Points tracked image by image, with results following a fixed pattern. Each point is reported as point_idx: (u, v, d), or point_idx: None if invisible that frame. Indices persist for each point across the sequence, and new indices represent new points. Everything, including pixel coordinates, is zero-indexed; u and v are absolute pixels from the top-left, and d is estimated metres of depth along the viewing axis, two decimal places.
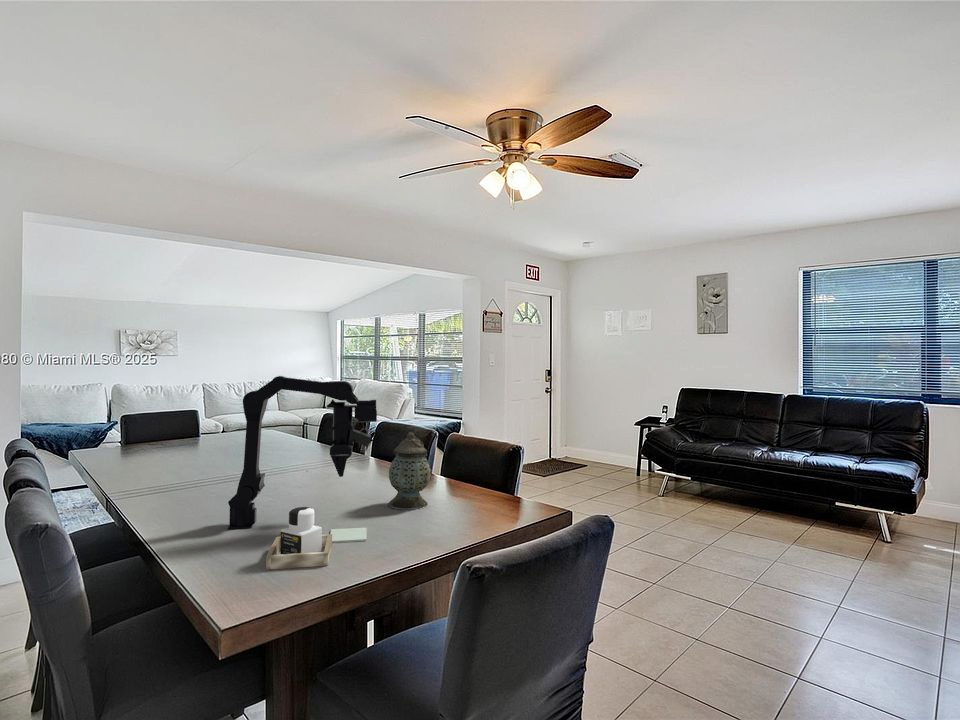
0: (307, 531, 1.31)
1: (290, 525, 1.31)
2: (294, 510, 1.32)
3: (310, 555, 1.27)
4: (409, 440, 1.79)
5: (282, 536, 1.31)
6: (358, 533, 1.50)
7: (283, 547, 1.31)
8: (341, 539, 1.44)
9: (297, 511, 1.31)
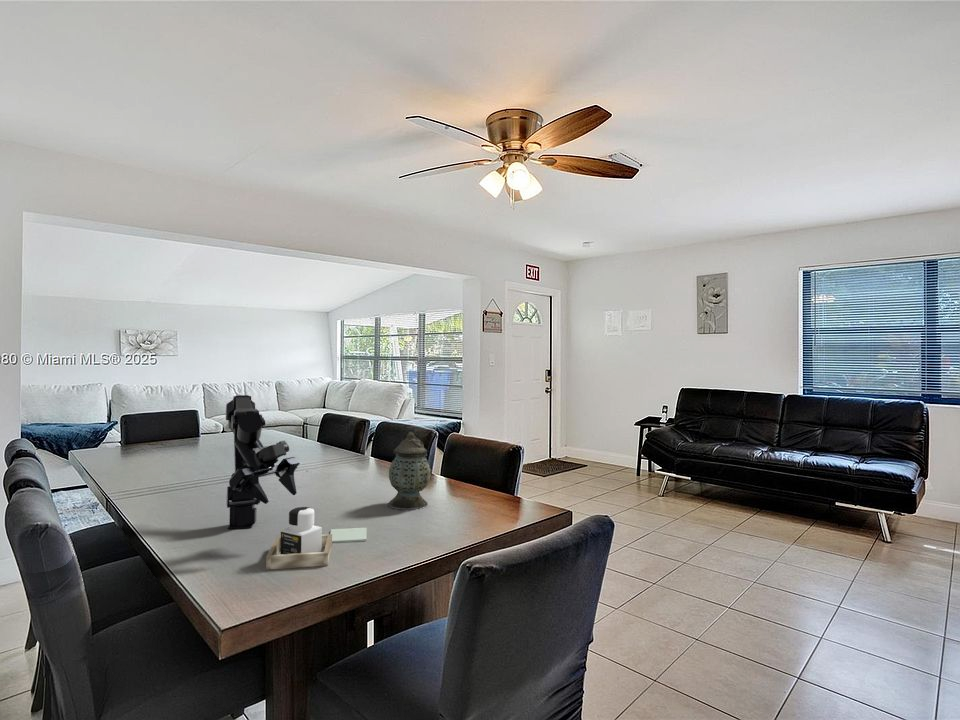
0: (307, 531, 1.31)
1: (290, 525, 1.31)
2: (294, 510, 1.32)
3: (310, 555, 1.27)
4: (409, 440, 1.79)
5: (282, 536, 1.31)
6: (358, 533, 1.50)
7: (283, 547, 1.31)
8: (341, 539, 1.44)
9: (297, 511, 1.31)
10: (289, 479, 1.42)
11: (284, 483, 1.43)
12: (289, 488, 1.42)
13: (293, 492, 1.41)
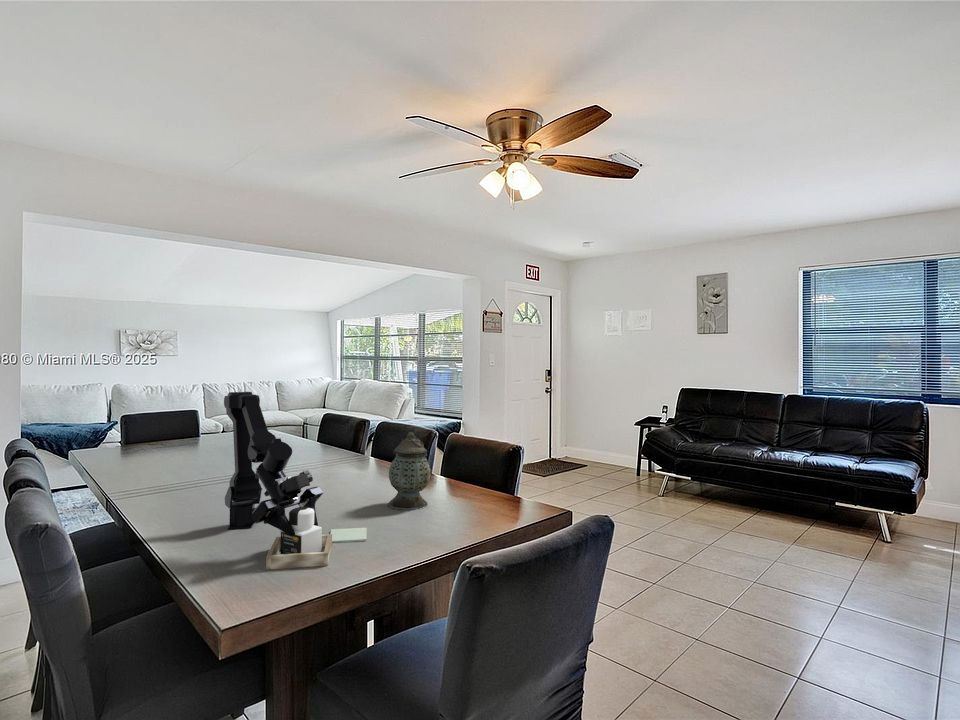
0: (307, 531, 1.31)
1: None
2: (294, 510, 1.32)
3: (310, 555, 1.27)
4: (409, 440, 1.79)
5: (282, 536, 1.31)
6: (358, 533, 1.50)
7: (283, 547, 1.31)
8: (341, 539, 1.44)
9: (297, 511, 1.31)
10: None
11: None
12: None
13: None
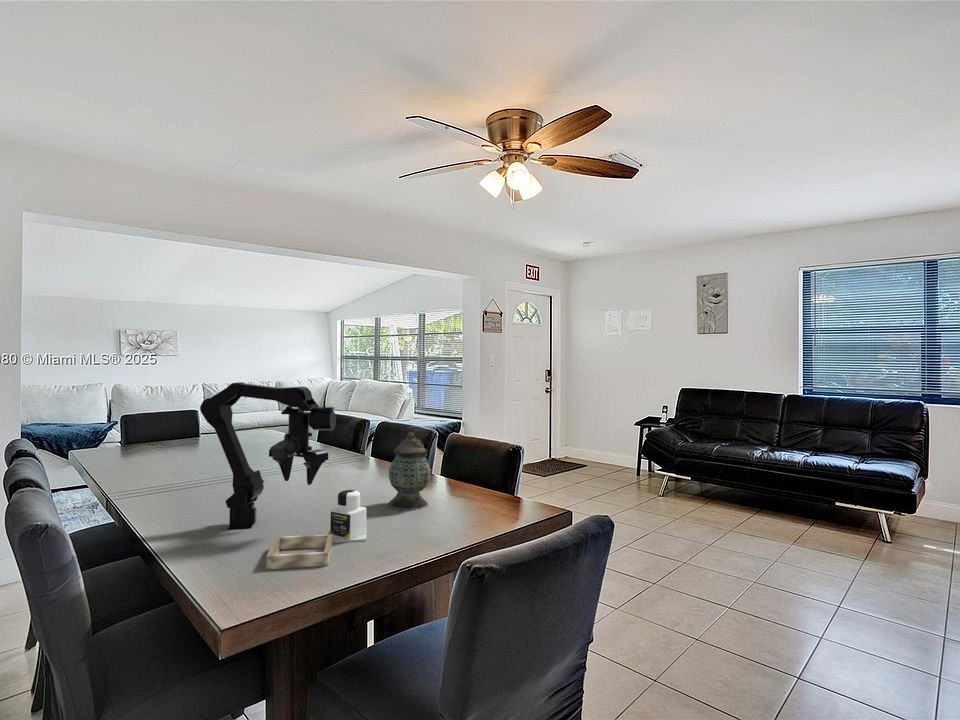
0: (354, 511, 1.46)
1: (339, 505, 1.47)
2: (342, 492, 1.48)
3: (310, 555, 1.27)
4: (409, 440, 1.79)
5: (332, 515, 1.47)
6: None
7: (333, 525, 1.47)
8: (341, 539, 1.44)
9: (345, 493, 1.47)
10: None
11: None
12: None
13: None
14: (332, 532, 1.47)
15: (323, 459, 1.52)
